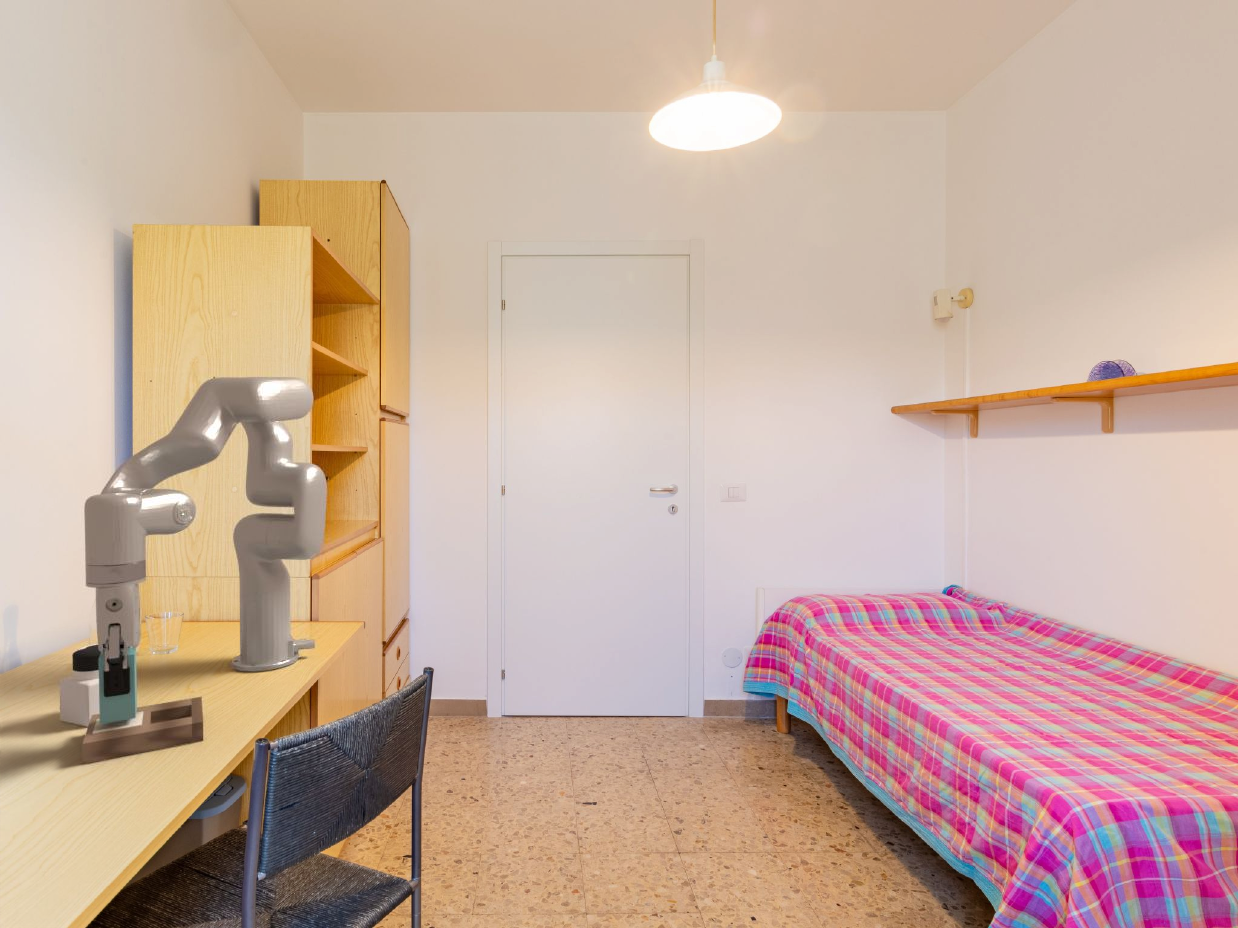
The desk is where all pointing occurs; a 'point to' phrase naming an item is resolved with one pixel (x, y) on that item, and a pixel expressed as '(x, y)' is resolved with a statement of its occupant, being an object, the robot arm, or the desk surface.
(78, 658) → the medicine bottle
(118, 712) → the peg
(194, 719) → the pocket board
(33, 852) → the desk surface
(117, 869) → the desk surface
